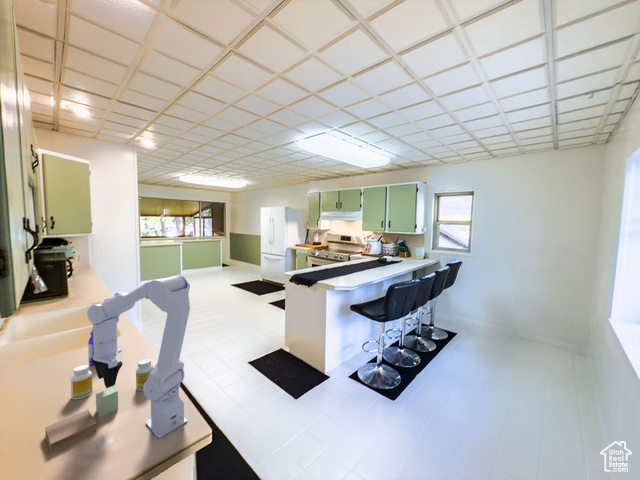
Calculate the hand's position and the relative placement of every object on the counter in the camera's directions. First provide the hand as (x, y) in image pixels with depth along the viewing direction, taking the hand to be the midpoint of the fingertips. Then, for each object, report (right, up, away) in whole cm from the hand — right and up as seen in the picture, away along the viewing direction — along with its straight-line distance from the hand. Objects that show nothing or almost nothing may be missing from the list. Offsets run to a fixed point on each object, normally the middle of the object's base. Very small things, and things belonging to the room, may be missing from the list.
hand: (106, 381), depth 81 cm
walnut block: (-2, -10, -9) cm, 14 cm away
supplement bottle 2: (+4, -9, +12) cm, 16 cm away
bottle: (-27, -8, +29) cm, 41 cm away
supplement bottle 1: (-15, -9, +8) cm, 19 cm away
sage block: (0, -9, 0) cm, 9 cm away
